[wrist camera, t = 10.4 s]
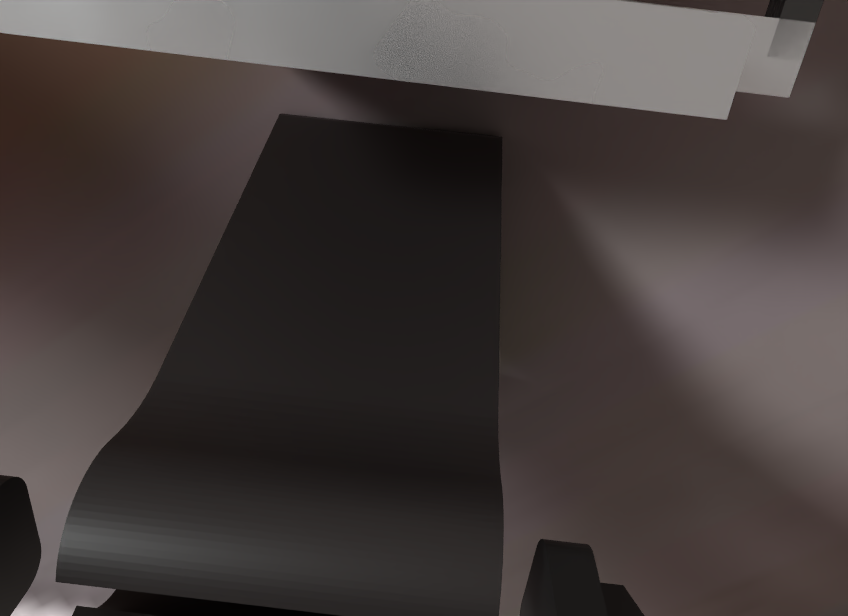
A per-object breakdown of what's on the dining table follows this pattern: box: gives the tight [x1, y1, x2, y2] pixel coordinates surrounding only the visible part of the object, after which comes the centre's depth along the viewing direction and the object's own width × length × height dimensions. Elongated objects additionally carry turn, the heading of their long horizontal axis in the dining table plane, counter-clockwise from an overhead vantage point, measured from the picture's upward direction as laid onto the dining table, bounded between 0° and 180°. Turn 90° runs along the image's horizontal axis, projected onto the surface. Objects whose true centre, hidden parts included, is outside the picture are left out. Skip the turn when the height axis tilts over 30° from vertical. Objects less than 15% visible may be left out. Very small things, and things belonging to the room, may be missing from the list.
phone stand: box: [56, 114, 504, 616], centre depth 14 cm, size 9×6×12 cm, turn 174°
